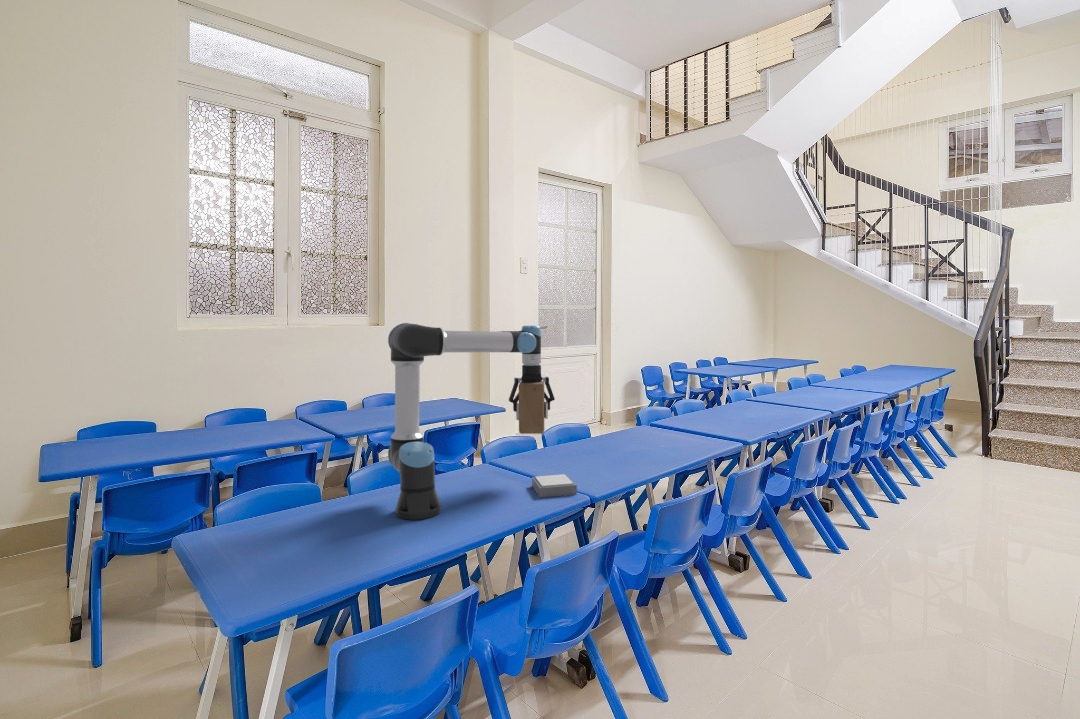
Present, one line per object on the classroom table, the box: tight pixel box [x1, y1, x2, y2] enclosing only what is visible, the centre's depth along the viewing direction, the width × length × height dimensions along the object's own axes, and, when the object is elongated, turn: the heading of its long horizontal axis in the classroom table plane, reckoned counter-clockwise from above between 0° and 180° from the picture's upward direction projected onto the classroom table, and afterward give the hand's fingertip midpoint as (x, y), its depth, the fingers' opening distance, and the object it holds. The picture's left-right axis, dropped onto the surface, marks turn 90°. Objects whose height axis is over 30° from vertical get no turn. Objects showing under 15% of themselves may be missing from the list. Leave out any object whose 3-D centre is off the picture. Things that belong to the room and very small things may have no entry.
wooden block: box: [518, 380, 545, 435], centre depth 229 cm, size 10×10×20 cm
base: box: [531, 473, 578, 498], centre depth 220 cm, size 14×14×4 cm
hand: (531, 418), depth 230 cm, fingers closed on wooden block, 11 cm apart
